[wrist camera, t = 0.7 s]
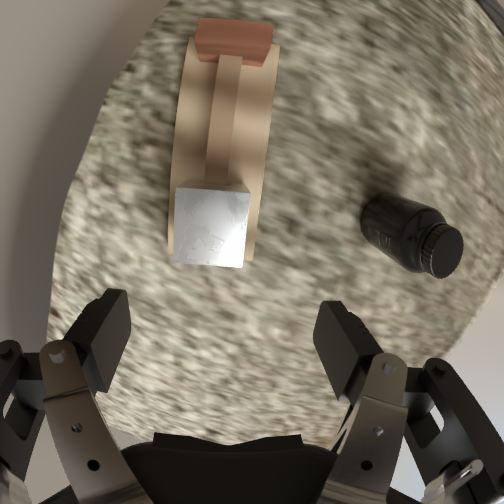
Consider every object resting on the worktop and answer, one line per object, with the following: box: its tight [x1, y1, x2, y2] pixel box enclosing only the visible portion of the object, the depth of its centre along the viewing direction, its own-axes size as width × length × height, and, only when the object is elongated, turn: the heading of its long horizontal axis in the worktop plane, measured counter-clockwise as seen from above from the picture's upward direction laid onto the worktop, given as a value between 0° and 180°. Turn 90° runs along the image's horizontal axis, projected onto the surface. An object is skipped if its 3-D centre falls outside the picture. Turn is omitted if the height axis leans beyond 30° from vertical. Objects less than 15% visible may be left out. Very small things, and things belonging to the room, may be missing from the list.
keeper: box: [173, 179, 251, 267], centre depth 23 cm, size 6×6×6 cm
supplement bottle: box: [362, 193, 464, 279], centre depth 25 cm, size 7×7×12 cm
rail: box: [168, 18, 280, 261], centre depth 22 cm, size 23×9×7 cm, turn 173°
